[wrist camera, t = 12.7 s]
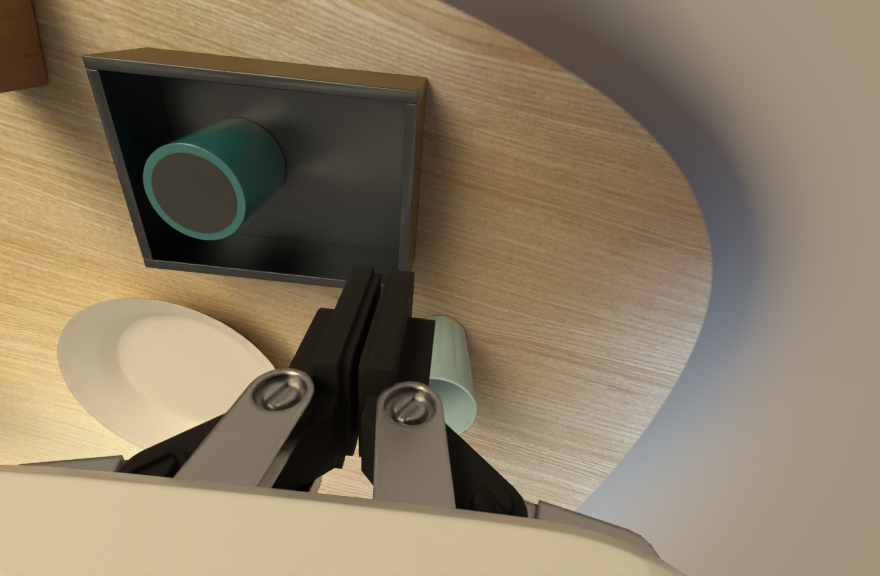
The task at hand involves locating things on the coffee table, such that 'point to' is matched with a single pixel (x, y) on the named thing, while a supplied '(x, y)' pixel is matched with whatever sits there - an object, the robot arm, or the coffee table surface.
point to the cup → (452, 374)
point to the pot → (214, 178)
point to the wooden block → (19, 47)
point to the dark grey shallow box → (305, 153)
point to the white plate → (154, 367)
